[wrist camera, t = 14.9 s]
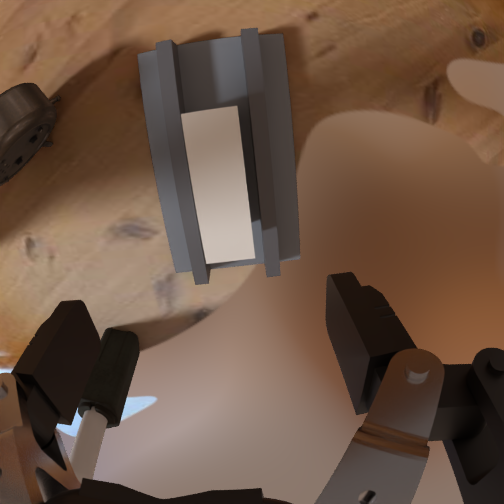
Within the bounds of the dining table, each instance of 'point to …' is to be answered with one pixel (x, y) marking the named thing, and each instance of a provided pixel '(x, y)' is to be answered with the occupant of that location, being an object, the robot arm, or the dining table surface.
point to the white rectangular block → (219, 183)
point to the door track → (252, 136)
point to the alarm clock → (23, 126)
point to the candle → (103, 398)
